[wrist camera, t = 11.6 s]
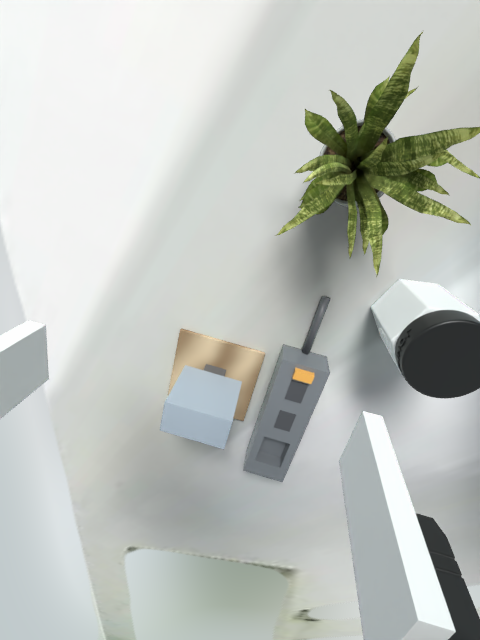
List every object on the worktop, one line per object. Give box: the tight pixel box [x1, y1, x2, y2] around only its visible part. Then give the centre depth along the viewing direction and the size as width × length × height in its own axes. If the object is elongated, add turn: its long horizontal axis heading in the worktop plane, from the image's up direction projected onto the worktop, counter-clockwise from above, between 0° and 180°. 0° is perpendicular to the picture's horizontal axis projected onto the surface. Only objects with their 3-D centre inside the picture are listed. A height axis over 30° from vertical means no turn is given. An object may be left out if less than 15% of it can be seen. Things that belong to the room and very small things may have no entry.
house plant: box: [276, 32, 480, 275], centre depth 28 cm, size 14×14×16 cm
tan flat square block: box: [168, 329, 265, 421], centre depth 48 cm, size 12×12×1 cm
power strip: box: [244, 296, 330, 482], centre depth 45 cm, size 28×6×5 cm, turn 166°
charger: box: [160, 364, 242, 449], centre depth 43 cm, size 4×8×10 cm, turn 76°
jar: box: [371, 279, 480, 398], centre depth 35 cm, size 9×8×12 cm
